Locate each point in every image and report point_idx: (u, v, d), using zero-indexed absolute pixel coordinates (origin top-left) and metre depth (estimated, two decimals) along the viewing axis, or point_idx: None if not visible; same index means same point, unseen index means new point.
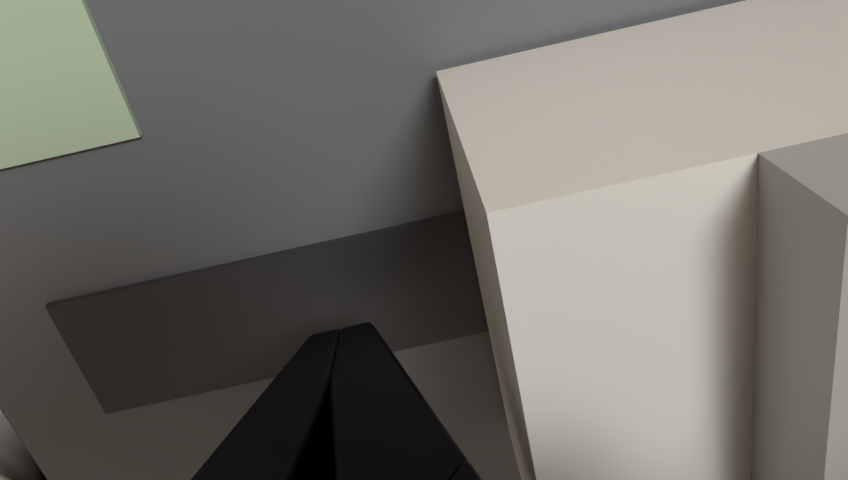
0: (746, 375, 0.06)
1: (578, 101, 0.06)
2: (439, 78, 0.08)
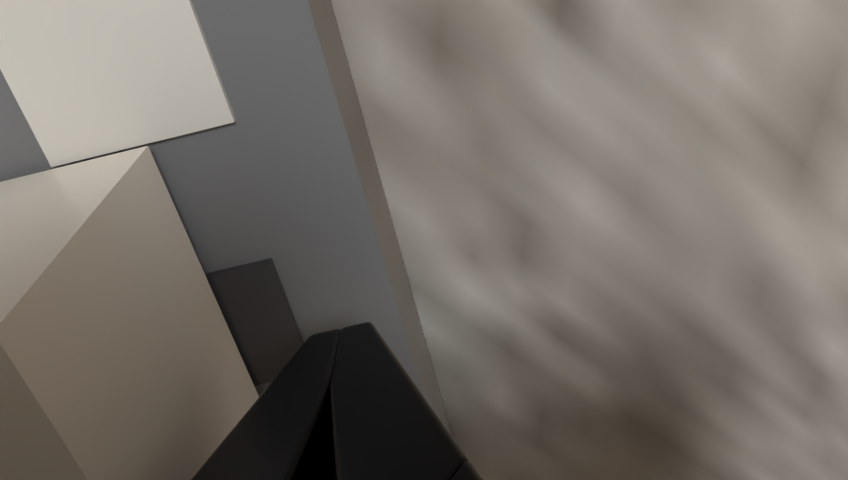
0: None
1: None
2: None
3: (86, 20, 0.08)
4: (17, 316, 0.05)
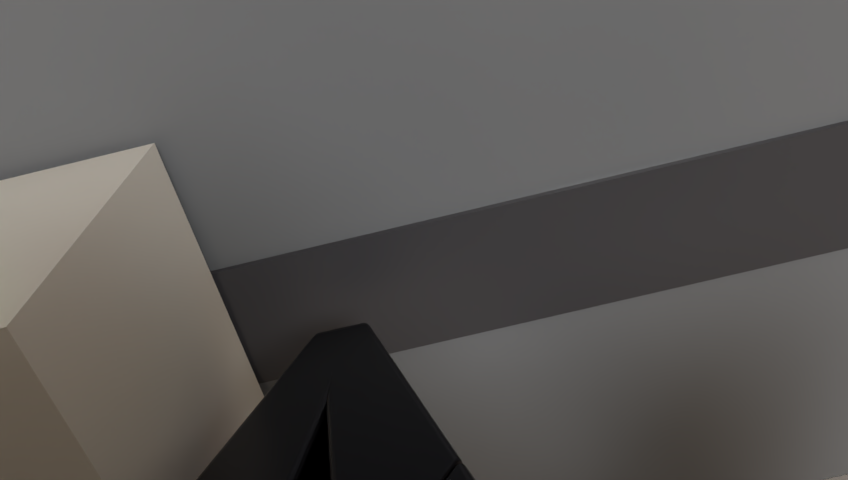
0: None
1: None
2: None
3: None
4: (31, 310, 0.05)
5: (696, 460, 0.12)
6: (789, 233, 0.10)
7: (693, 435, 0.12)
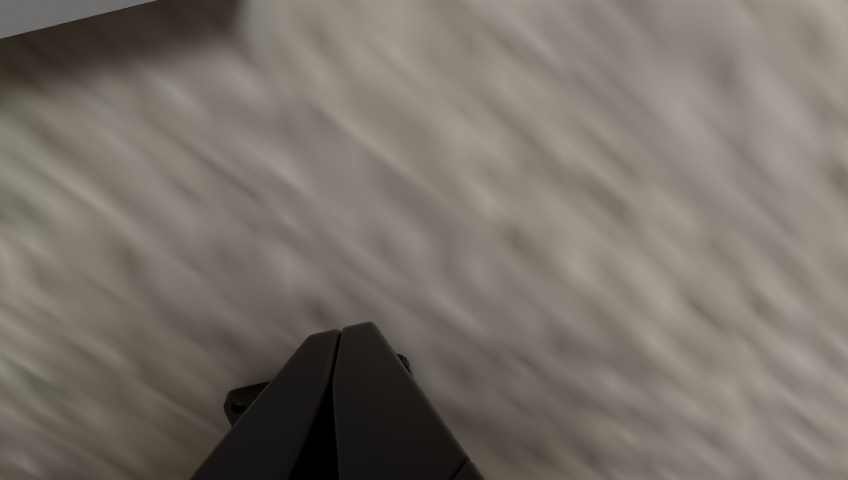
0: None
1: None
2: None
3: None
4: None
5: None
6: None
7: None
